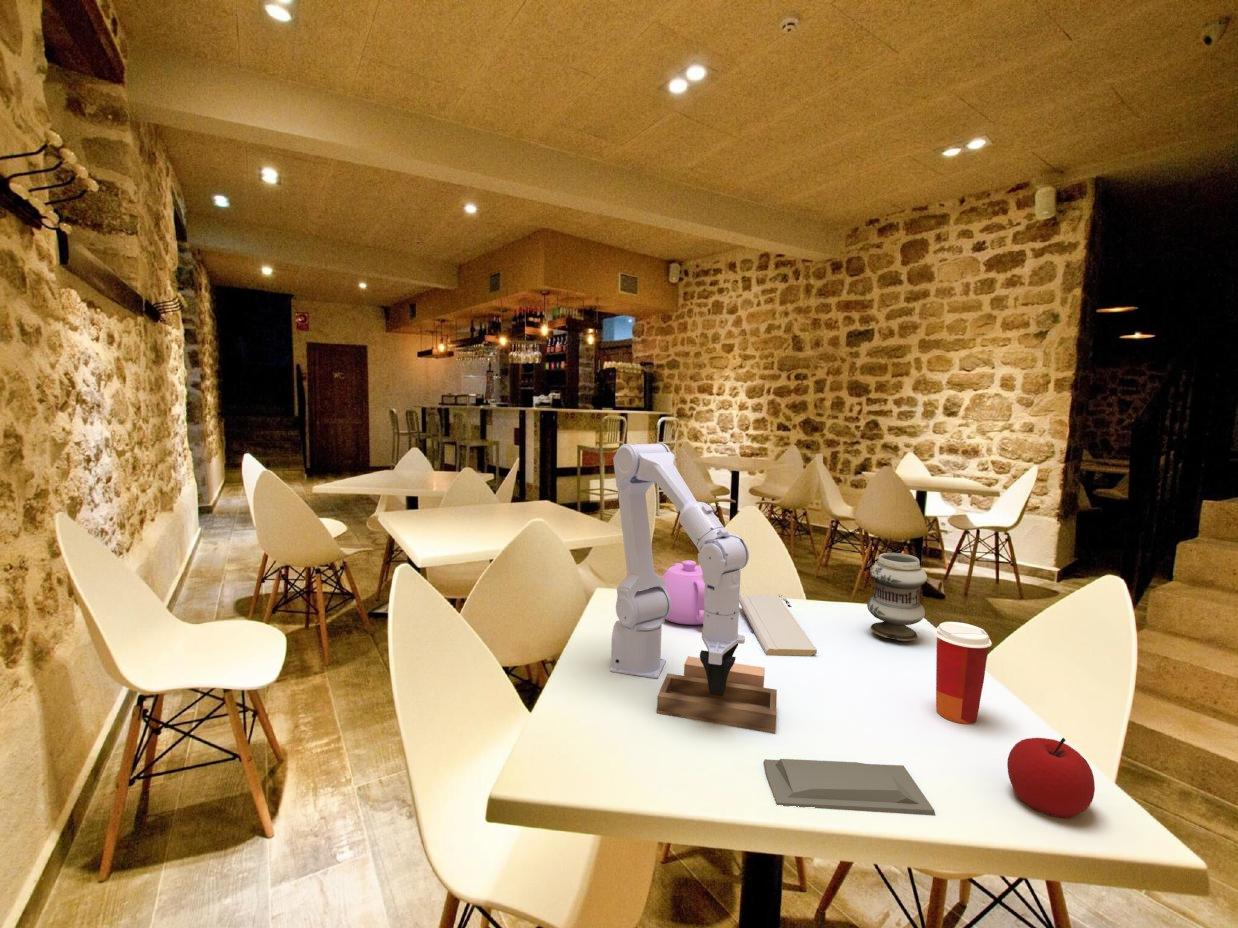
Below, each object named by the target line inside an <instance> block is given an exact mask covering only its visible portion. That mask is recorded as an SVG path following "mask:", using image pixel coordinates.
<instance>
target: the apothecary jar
mask: <svg viewBox="0 0 1238 928" xmlns="http://www.w3.org/2000/svg"><path fill="white" fill-rule="evenodd" d="M920 563H921V562H920V559H919V558H918V557H916V556H913V555H911V554H906V553H900V552H899V553H898V552H884V553H881V554H879V556H878V559H877V561H876V562H875V563H873V564H872V565H871V567H870V569H869V573H870V575H871V576H870V577H872V578H873V579H874V589H873V596H871V597H870V598H869V599H868V600H867V604H866V607H867V609H868V612H869V613H870V614H871V615H872V616H873V617H874V618H876V619H878V620H880V621H878V622H875V623H872V624H871V625H870V630H871V631H872V632H873V633H874V634H876V635H877V636H880V637H882V638H886V639H893V640H894V639H895V640H896V641H903V642H904V641H905V642H909V641H914V640H916V639H917V638H918V633H917V632H916V631H915V630H914V629H912V628H911V627H909V626H912V625H915V624H917V623H919V622H921V621H922V620H923V619H924V618H925V615H926V611H925V608H924V606H923V605H922V604H921V603H920V601H921V600H920V599H921V598H920V597H921V594H920V593H921V586H922V585H925V583H927V580H928V575H927V573H926V571H925V570H924V569H923V568H922V567H921V565H920Z"/></svg>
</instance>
